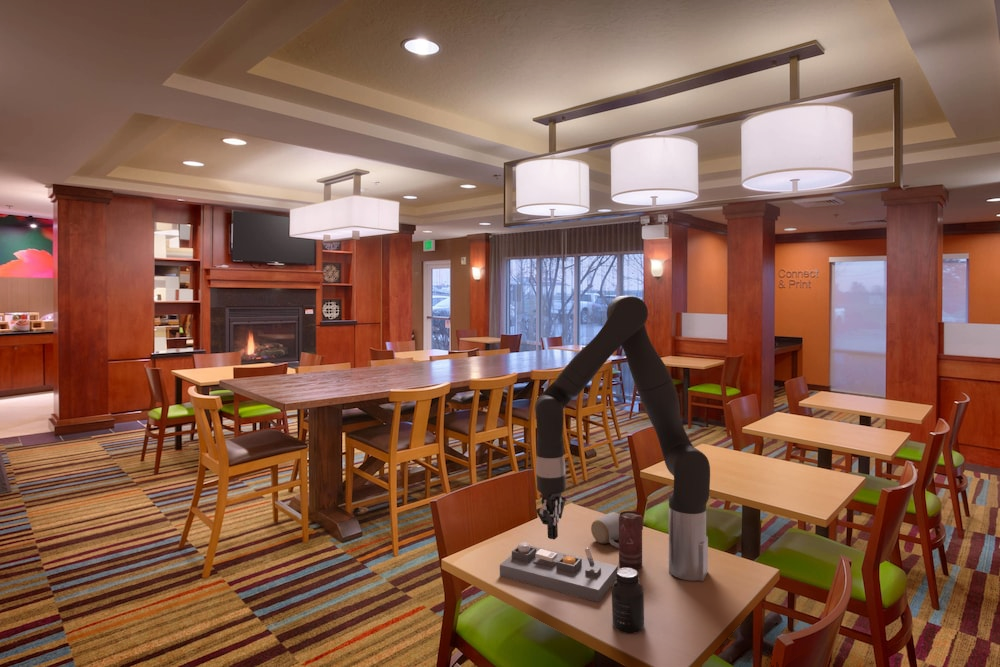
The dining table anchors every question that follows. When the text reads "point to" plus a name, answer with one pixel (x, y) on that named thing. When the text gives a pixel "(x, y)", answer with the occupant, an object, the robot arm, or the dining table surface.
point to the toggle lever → (589, 557)
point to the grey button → (524, 547)
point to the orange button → (569, 560)
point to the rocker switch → (546, 555)
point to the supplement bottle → (627, 601)
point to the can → (630, 539)
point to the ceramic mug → (606, 529)
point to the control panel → (560, 574)
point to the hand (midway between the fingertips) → (552, 537)
